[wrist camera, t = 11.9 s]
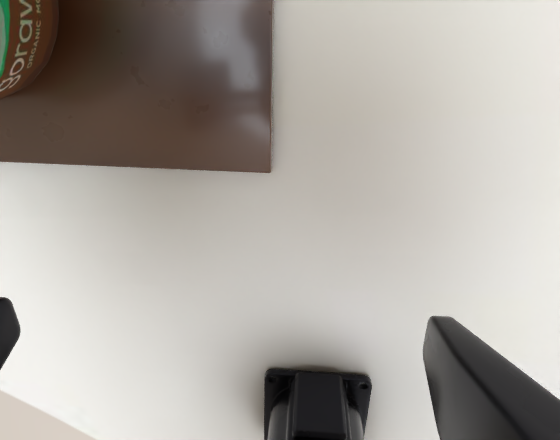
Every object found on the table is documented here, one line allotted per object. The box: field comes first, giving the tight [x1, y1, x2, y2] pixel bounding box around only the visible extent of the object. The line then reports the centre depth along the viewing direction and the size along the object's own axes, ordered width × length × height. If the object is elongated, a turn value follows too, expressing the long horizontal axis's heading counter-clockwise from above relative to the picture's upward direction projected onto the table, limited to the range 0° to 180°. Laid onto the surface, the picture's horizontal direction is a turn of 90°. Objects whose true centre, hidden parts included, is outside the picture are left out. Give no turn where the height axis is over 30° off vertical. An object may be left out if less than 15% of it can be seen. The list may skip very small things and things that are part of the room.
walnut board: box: [0, 0, 274, 173], centre depth 17 cm, size 14×22×1 cm, turn 89°
